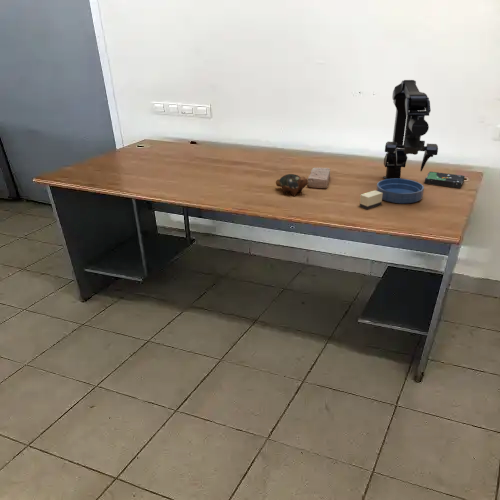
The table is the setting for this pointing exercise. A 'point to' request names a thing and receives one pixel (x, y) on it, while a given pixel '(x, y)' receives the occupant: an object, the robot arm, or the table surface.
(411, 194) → the bowl
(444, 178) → the disk drive
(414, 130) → the robot arm
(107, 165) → the table surface
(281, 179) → the decorative turtle
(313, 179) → the brick
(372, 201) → the eraser
